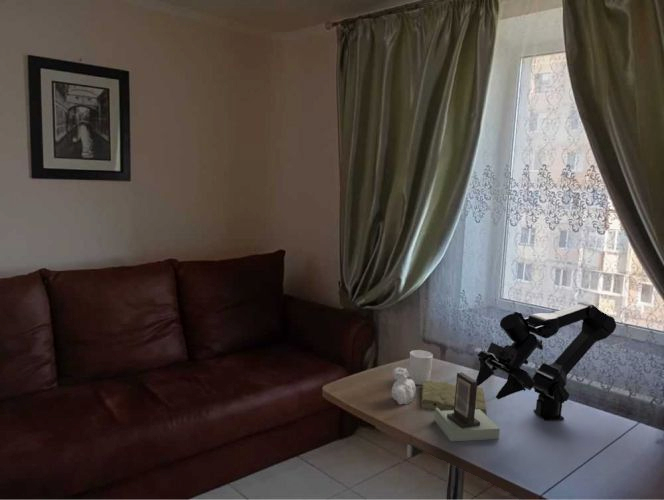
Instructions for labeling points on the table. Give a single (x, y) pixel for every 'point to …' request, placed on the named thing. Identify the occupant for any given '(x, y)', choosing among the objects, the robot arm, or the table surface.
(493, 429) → the picture ledge
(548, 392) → the robot arm
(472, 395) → the dark photo frame
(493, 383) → the table surface
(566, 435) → the table surface
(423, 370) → the white cup
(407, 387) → the bust
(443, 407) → the decorative tile
